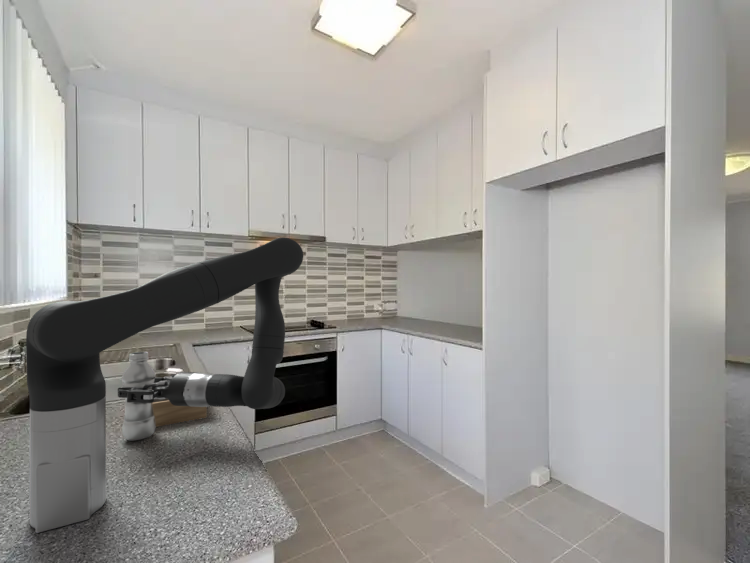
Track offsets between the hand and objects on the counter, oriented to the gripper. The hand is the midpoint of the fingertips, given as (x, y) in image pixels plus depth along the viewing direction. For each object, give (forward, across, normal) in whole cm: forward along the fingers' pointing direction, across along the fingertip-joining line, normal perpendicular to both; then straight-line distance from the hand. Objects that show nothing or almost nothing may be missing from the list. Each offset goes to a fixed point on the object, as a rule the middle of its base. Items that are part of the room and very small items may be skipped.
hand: (134, 386), depth 85 cm
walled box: (+4, -15, +12) cm, 20 cm away
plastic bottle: (-1, 0, +12) cm, 12 cm away
